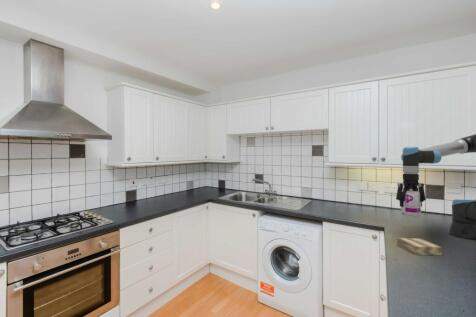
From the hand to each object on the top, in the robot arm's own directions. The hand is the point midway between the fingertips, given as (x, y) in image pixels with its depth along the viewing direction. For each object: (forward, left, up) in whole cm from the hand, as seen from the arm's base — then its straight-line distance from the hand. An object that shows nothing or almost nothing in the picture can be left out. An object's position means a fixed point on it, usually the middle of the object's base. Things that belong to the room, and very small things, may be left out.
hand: (410, 212), depth 134 cm
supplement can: (0, 0, -3) cm, 3 cm away
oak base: (+6, +14, -17) cm, 23 cm away
